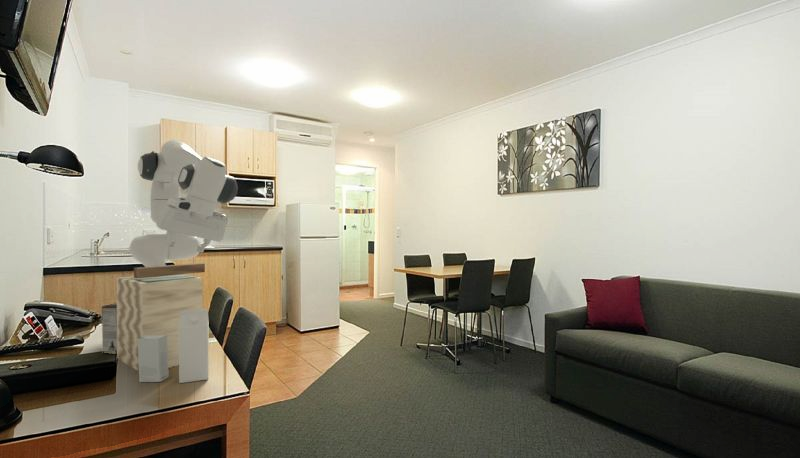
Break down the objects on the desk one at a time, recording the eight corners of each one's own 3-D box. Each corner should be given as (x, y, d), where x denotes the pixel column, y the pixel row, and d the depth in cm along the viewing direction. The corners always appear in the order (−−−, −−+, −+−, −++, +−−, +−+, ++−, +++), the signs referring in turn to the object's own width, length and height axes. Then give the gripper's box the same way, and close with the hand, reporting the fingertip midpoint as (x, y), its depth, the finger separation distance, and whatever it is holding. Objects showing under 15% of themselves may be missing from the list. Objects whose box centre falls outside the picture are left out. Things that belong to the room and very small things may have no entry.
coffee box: (125, 346, 147) (124, 300, 147) (140, 347, 145) (140, 301, 145) (101, 354, 138) (101, 305, 138) (117, 355, 136) (117, 306, 136)
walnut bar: (134, 277, 134) (133, 267, 134) (199, 271, 150) (199, 263, 150) (138, 278, 131) (138, 268, 131) (204, 272, 148) (204, 263, 148)
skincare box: (169, 377, 117) (168, 334, 117) (159, 383, 112) (159, 338, 112) (147, 377, 117) (147, 334, 117) (137, 383, 112) (136, 338, 112)
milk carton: (181, 375, 118) (180, 308, 118) (208, 371, 121) (208, 306, 121) (179, 383, 112) (178, 313, 111) (208, 379, 114) (207, 311, 114)
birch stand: (117, 358, 133) (116, 276, 133) (173, 346, 146) (172, 271, 146) (143, 374, 119) (142, 282, 119) (202, 359, 132) (202, 276, 132)
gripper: (225, 214, 142) (211, 252, 141) (162, 196, 126) (147, 240, 126) (233, 217, 138) (220, 257, 137) (170, 200, 122) (155, 245, 122)
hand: (185, 249), depth 131 cm, fingers open, 8 cm apart
